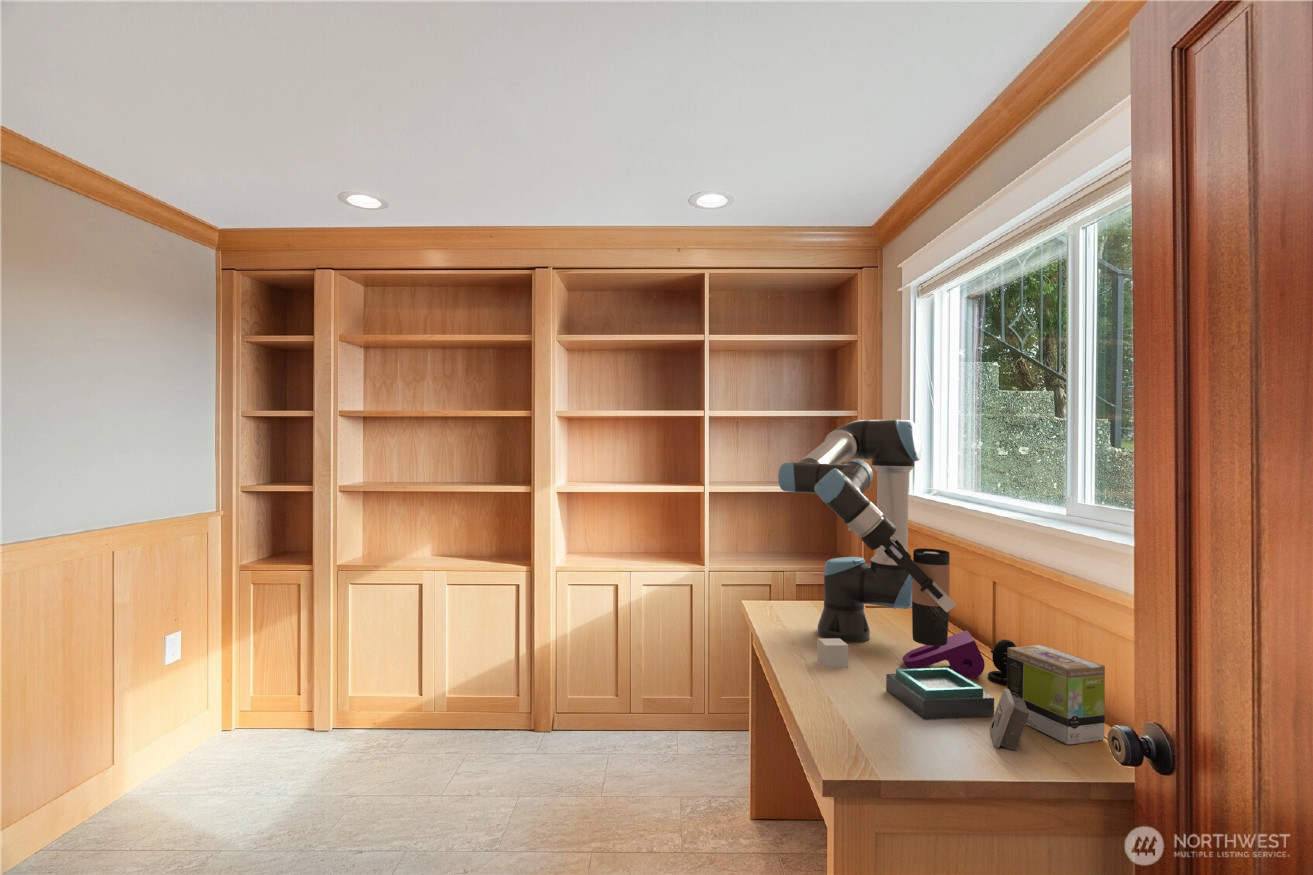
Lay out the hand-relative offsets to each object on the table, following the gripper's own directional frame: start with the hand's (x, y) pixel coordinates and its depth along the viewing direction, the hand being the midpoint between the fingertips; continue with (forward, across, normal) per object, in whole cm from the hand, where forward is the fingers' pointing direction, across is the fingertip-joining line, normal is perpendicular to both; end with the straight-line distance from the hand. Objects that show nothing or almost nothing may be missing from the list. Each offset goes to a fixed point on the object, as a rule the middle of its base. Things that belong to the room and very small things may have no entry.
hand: (947, 603), depth 145 cm
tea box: (+30, +6, -2) cm, 30 cm away
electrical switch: (+22, +16, -10) cm, 29 cm away
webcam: (+28, -21, -4) cm, 35 cm away
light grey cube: (0, -21, -33) cm, 39 cm away
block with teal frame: (+15, 0, -17) cm, 22 cm away
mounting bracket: (+19, -25, -14) cm, 34 cm away
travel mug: (+4, 0, -9) cm, 9 cm away
